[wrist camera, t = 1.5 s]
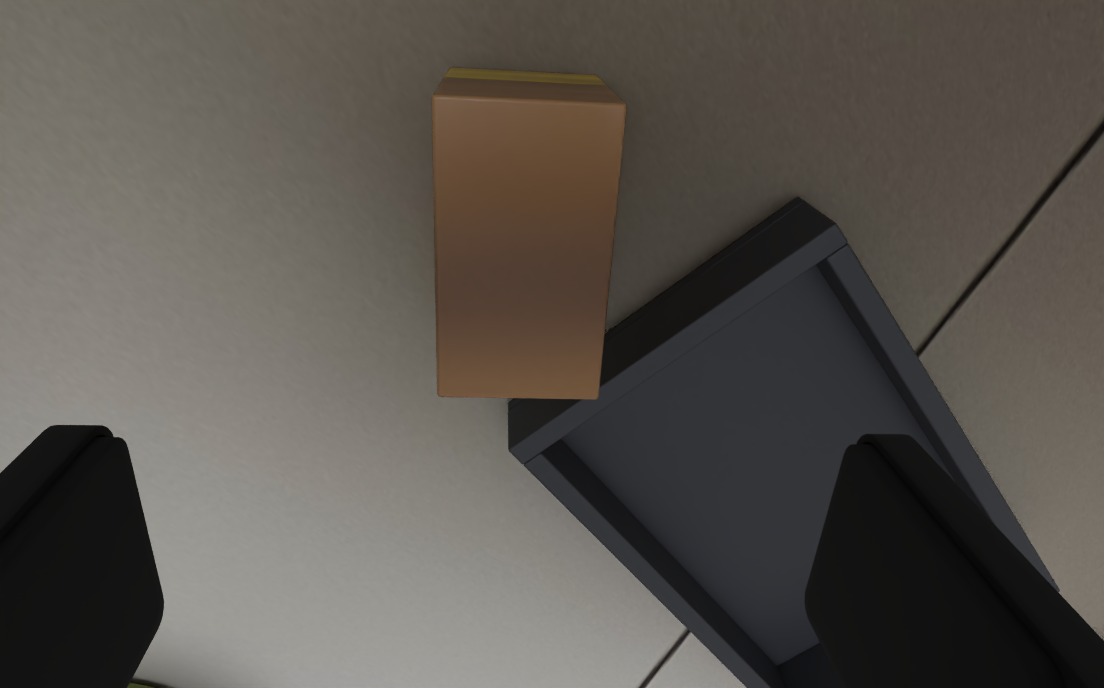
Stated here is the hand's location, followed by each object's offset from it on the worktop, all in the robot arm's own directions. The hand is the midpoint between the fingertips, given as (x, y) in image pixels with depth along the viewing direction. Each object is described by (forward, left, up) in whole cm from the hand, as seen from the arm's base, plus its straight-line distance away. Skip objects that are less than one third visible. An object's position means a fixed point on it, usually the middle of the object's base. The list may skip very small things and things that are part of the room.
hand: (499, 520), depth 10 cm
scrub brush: (0, +1, -16) cm, 16 cm away
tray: (+11, +12, -16) cm, 22 cm away
